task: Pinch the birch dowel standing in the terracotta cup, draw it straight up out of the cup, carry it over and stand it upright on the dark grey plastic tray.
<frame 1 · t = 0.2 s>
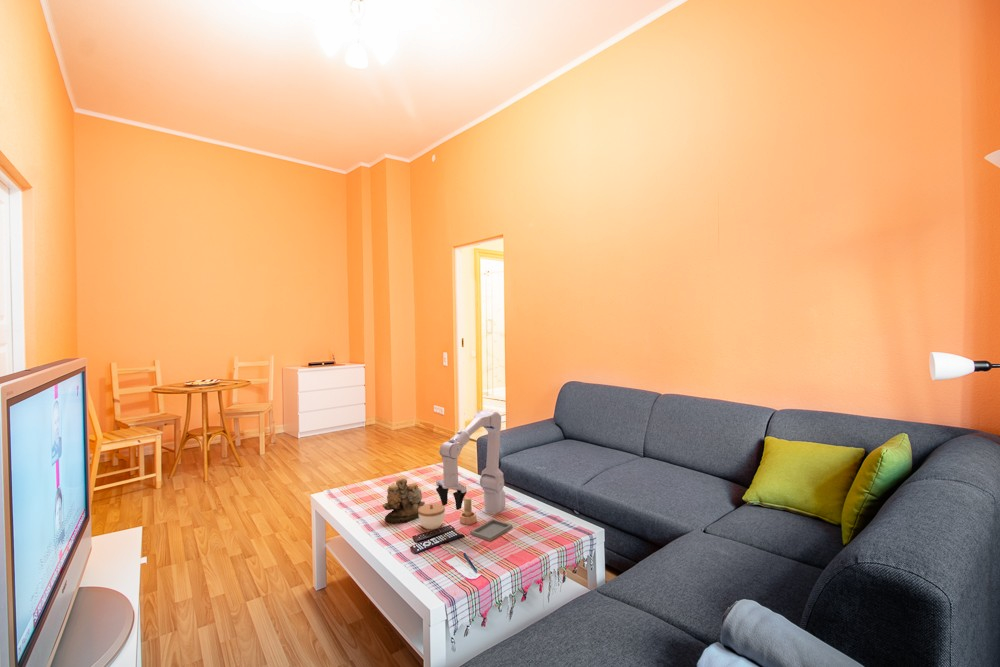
hand: (451, 506, 184), 10 cm above the table, fingers open, 7 cm apart
tray: (491, 532, 183), on the table
cup: (468, 522, 193), on the table
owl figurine: (404, 517, 200), on the table
lidded jar: (432, 527, 189), on the table
dowel: (468, 520, 193), point 1 cm above the table, touching cup
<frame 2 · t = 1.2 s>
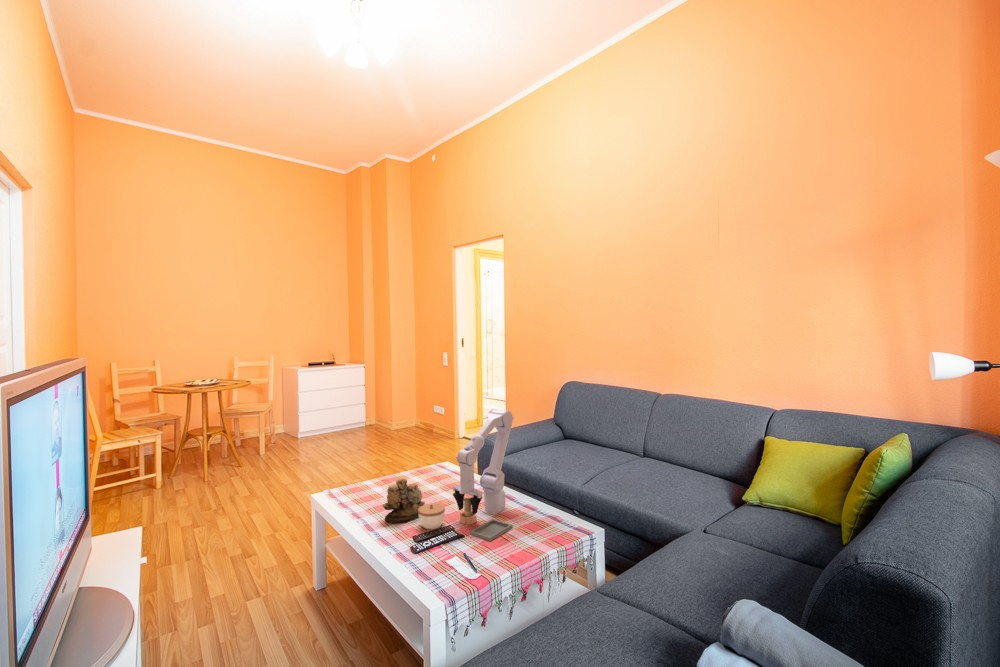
hand: (467, 511, 193), 4 cm above the table, fingers open, 7 cm apart
nothing on the table moved.
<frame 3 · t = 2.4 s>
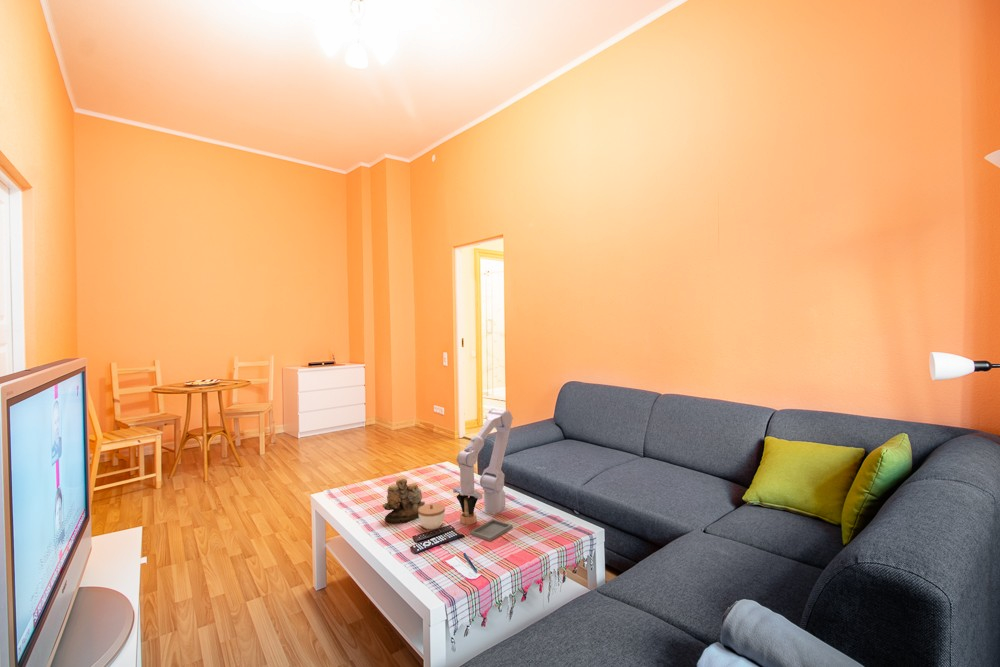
hand: (468, 512, 193), 4 cm above the table, fingers closed on dowel, 3 cm apart
dowel: (468, 520, 193), point 1 cm above the table, touching cup, gripper
everything else where it was.
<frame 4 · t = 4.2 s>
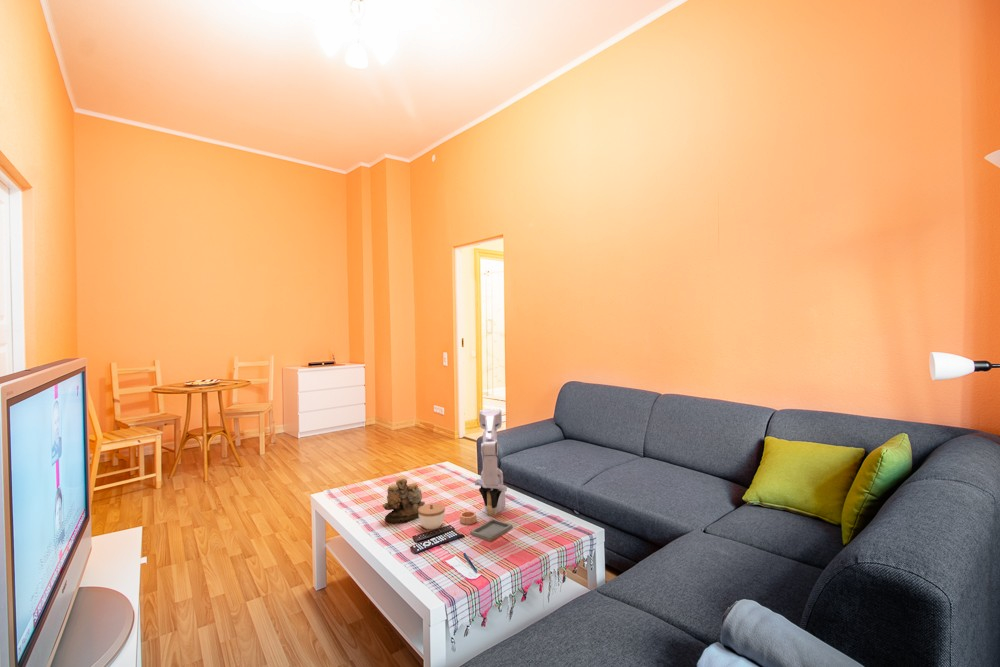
hand: (490, 506, 183), 10 cm above the table, fingers closed on dowel, 3 cm apart
dowel: (491, 514, 183), point 7 cm above the table, touching gripper
everything else where it was.
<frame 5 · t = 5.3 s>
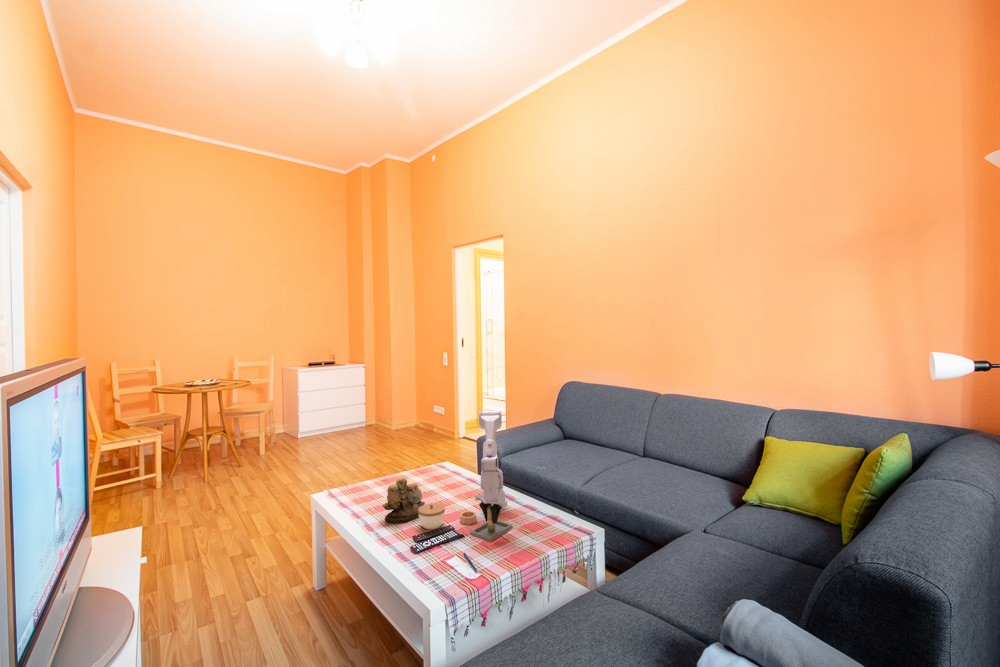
hand: (491, 521, 183), 4 cm above the table, fingers closed on dowel, 3 cm apart
dowel: (491, 530, 183), point 1 cm above the table, touching gripper
everything else where it was.
when the fingers open (4 cm above the table, at t = 6.0 s): dowel stays where it is, resting on tray.
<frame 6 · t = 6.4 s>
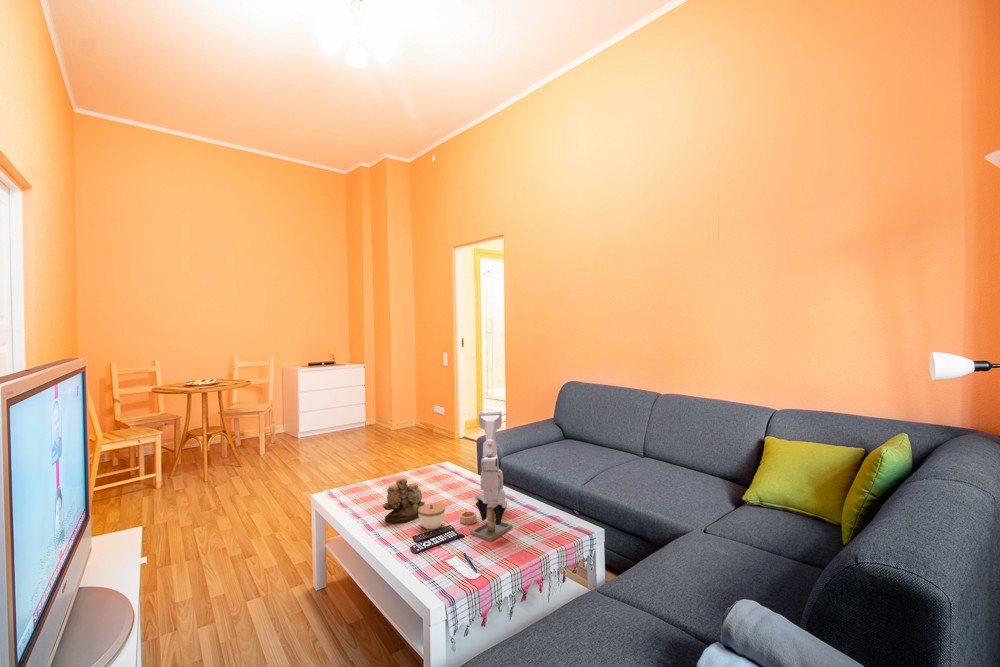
hand: (491, 521, 183), 4 cm above the table, fingers open, 7 cm apart
dowel: (491, 531, 183), point 1 cm above the table, touching tray
everything else where it was.
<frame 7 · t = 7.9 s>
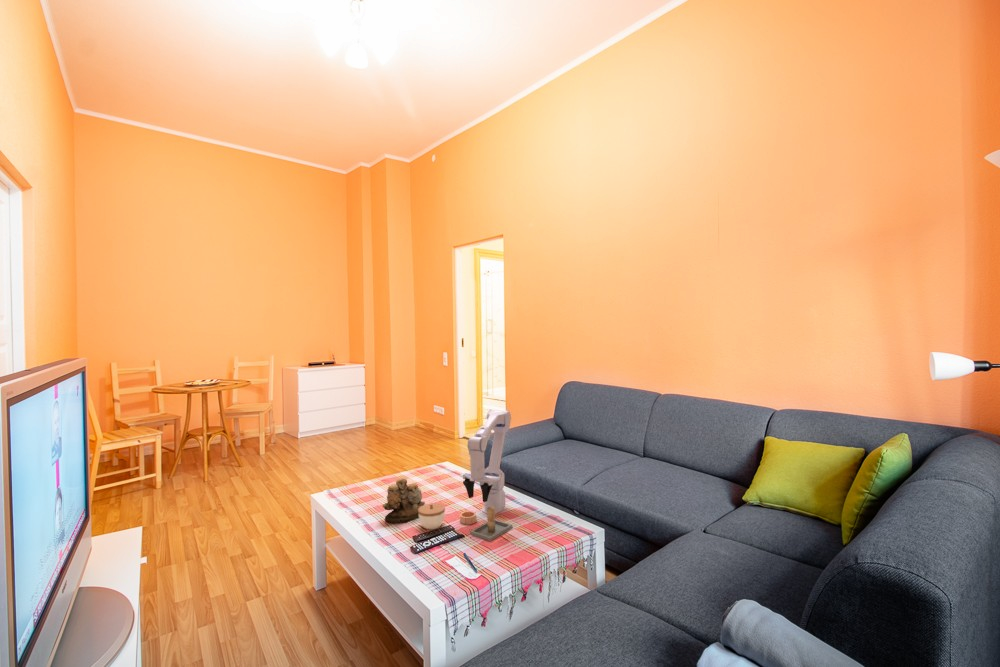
hand: (478, 499, 191), 10 cm above the table, fingers open, 7 cm apart
nothing on the table moved.
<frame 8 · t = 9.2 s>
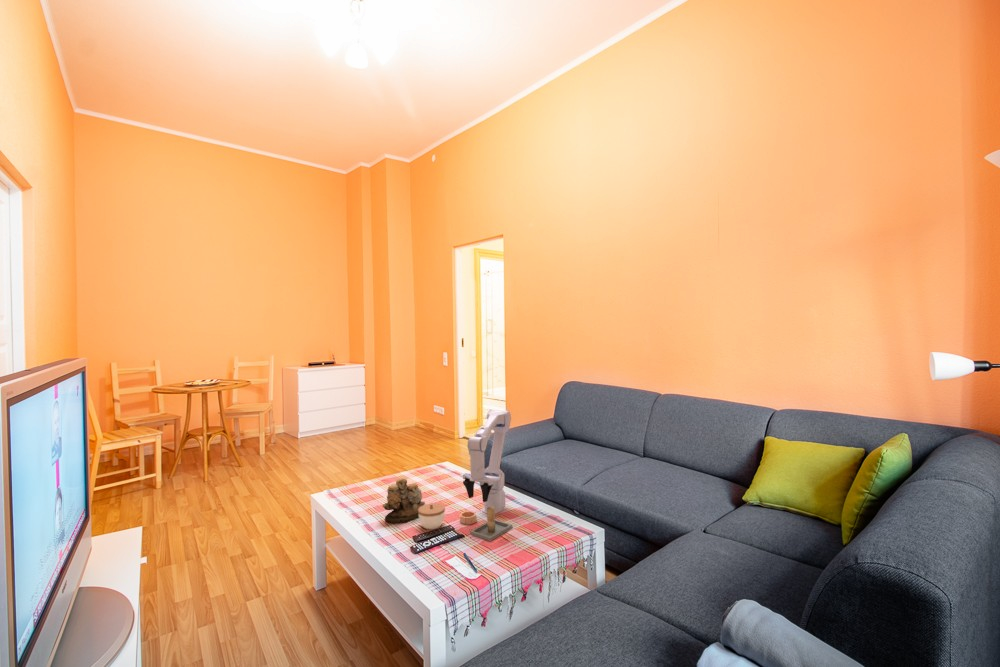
hand: (478, 499, 191), 10 cm above the table, fingers open, 7 cm apart
nothing on the table moved.
at the end: dowel inside the target area on the tray (0.1 cm from its centre), point 0.6 cm above the tray's base; dowel tilted 1°; the gripper is holding nothing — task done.
